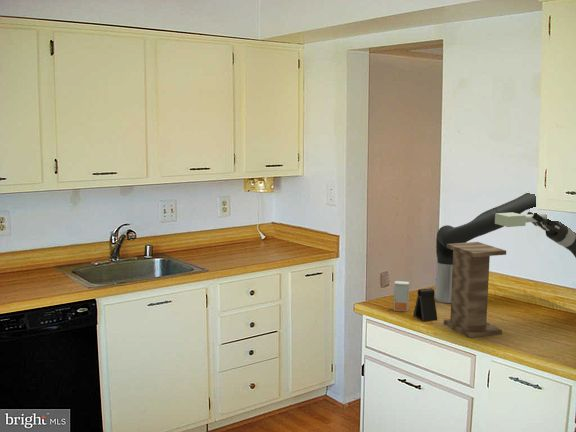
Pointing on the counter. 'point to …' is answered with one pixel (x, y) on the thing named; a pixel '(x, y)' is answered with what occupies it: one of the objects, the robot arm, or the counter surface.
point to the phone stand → (425, 305)
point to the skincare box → (401, 296)
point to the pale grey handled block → (514, 219)
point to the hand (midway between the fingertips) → (531, 214)
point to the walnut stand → (471, 288)
